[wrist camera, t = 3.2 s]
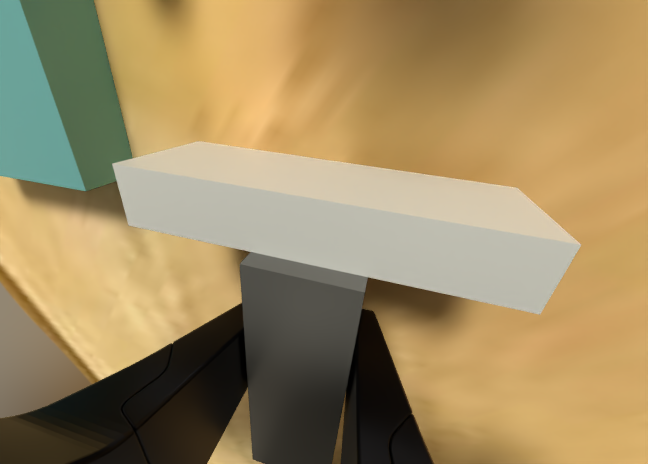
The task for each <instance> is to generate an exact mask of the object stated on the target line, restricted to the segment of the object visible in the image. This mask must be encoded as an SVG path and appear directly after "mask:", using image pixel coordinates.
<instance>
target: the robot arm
mask: <svg viewBox="0 0 648 464" xmlns="http://www.w3.org/2000/svg"><path fill="white" fill-rule="evenodd" d="M247 388H248V380H247V365H246V351H245V336H244V321H243V307H242V303H241V304H239V305H237V306H235V307H234V308H232V309H230V310H228V311H227V312H225V313H223V314H221V315H220V316H218V317H216V318H214V319H213V320H211V321H209V322H207V323H206V324H204V325H202V326H200V327H199V328H197V329H195V330H193V331H192V332H190V333H188V334H187V335H185V336H183V337H181V338H180V339H178V340H176V341H174V342H173V344H172V343H171V344H169V345H167V346H165V347H164V348H162V349H160V350H158V351H157V352H155V353H153V354H151V355H149V356H148V357H146V358H144V359H142V360H140V361H138V362H136V363H135V364H133V365H131V366H129V367H127V368H125V369H123V370H121V371H119V372H117V373H115V374H113V375H110V376H108V377H106V378H104V379H102V380H100V381H98V382H96V383H94V384H92V385H90V386H88V387H86V388H84V389H81V390H79V391H77V392H75V393H73V394H71V395H69V396H67V397H65V398H63V399H61V400H59V401H56V402H54V403H52V404H50V405H48V406H45V407H42V408H40V409H37V410H34V411H31V412H28V413H24V414H20V415H16V416H12V417H5V418H0V464H207V462H208V461H209V459H210V457H211V455H212V453H213V451H214V449H215V448H216V446H217V444H218V442H219V440H220V438H221V436H222V434H223V433H224V431H225V429H226V427H227V425H228V423H229V421H230V419H231V418H232V416H233V414H234V412H235V410H236V408H237V406H238V404H239V403H240V401H241V399H242V397H243V395H244V393H245V391H246V389H247ZM341 464H434V462H433V460H432V458H431V456H430V454H429V452H428V449H427V447H426V444H425V442H424V440H423V437H422V435H421V432H420V430H419V427H418V425H417V422H416V419H415V417H414V415H413V414H412V409H411V407H410V404H409V402H408V399H407V396H406V394H405V391H404V388H403V386H402V383H401V381H400V378H399V375H398V373H397V370H396V368H395V365H394V362H393V360H392V357H391V355H390V352H389V349H388V347H387V344H386V341H385V339H384V336H383V334H382V331H381V328H380V326H379V323H378V321H377V318H376V315H375V313H374V312H373V311H371V310H366V309H362V310H361V315H360V320H359V325H358V331H357V336H356V341H355V346H354V351H353V356H352V362H351V367H350V372H349V377H348V382H347V387H346V398H345V412H344V426H343V440H342V454H341Z"/></svg>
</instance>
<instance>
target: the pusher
mask: <svg viewBox="0 0 648 464" xmlns="http://www.w3.org/2000/svg"><path fill="white" fill-rule="evenodd" d="M112 165H113V169H114V173H115V177H116V180H117V184H118V188H119V191H120V195H121V199H122V203H123V206H124V210H125V214H126V217H127V221H128V225H129V226H133V227H138V228H143V229H147V230H152V231H157V232H161V233H166V234H170V235H175V236H180V237H184V238H189V239H193V240H198V241H203V242H207V243H212V244H217V245H221V246H226V247H230V248H235V249H240V250H244V251H249V252H250V253H249V255H248V256H247V257H246V258H245V259H244V260H243V261H242V262H241V263H240V278H241V292H242V307H243V321H244V336H245V351H246V365H247V380H248V395H249V409H250V424H251V439H252V453H253V460H256V461H259V462H262V463H264V464H332V460H333V454H334V449H335V444H336V439H337V434H338V429H339V423H340V418H341V413H342V408H343V403H344V398H345V393H346V387H347V382H348V377H349V372H350V367H351V362H352V356H353V351H354V346H355V341H356V336H357V331H358V325H359V320H360V315H361V310H362V305H363V300H364V295H365V289H366V284H367V279H368V277H369V278H374V279H378V280H383V281H388V282H392V283H397V284H401V285H406V286H411V287H415V288H420V289H425V290H429V291H434V292H438V293H443V294H448V295H452V296H457V297H462V298H466V299H471V300H475V301H480V302H485V303H489V304H494V305H499V306H503V307H508V308H512V309H517V310H522V311H526V312H531V313H535V314H541V312H542V310H543V309H544V307H545V305H546V303H547V302H548V300H549V298H550V297H551V295H552V293H553V292H554V290H555V288H556V287H557V285H558V283H559V282H560V280H561V278H562V277H563V275H564V273H565V271H566V270H567V268H568V266H569V265H570V263H571V261H572V260H573V258H574V256H575V255H576V253H577V251H578V250H579V248H580V246H581V244H580V243H579V242H578V241H576V240H575V239H574V238H573V237H572V236H571V235H570V234H569V233H567V232H566V231H565V230H564V229H563V228H562V227H561V226H560V225H558V224H557V223H556V222H555V221H554V220H553V219H552V218H551V217H549V216H548V215H547V214H546V213H545V212H544V211H543V210H542V209H540V208H539V207H538V206H537V205H536V204H535V203H534V202H532V201H531V200H530V199H529V198H528V197H527V196H526V195H525V194H523V193H522V192H521V191H520V190H519V189H518V188H516V187H509V186H502V185H495V184H488V183H482V182H475V181H468V180H461V179H454V178H447V177H440V176H434V175H427V174H420V173H413V172H406V171H399V170H393V169H386V168H379V167H372V166H365V165H358V164H352V163H345V162H338V161H331V160H324V159H317V158H311V157H304V156H297V155H290V154H283V153H276V152H270V151H263V150H256V149H249V148H242V147H235V146H229V145H222V144H215V143H208V142H201V141H197V142H194V143H190V144H186V145H182V146H178V147H174V148H171V149H167V150H163V151H159V152H155V153H151V154H148V155H144V156H140V157H136V158H132V159H128V160H125V161H121V162H117V163H113V164H112Z"/></svg>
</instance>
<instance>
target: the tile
mask: <svg viewBox="0 0 648 464" xmlns="http://www.w3.org/2000/svg"><path fill="white" fill-rule="evenodd" d="M132 158H133V157H132V153H131V149H130V145H129V141H128V137H127V133H126V129H125V125H124V121H123V117H122V113H121V109H120V105H119V101H118V97H117V93H116V89H115V85H114V81H113V77H112V73H111V69H110V65H109V61H108V57H107V52H106V48H105V44H104V40H103V36H102V32H101V28H100V24H99V20H98V16H97V12H96V8H95V4H94V0H0V176H4V177H10V178H15V179H21V180H26V181H32V182H37V183H43V184H49V185H54V186H60V187H65V188H71V189H76V190H82V191H88V190H91V189H94V188H97V187H101V186H104V185H107V184H110V183H113V182H116V181H117V180H116V177H115V173H114V169H113V165H112V164H113V163H117V162H121V161H125V160H128V159H132Z"/></svg>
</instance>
